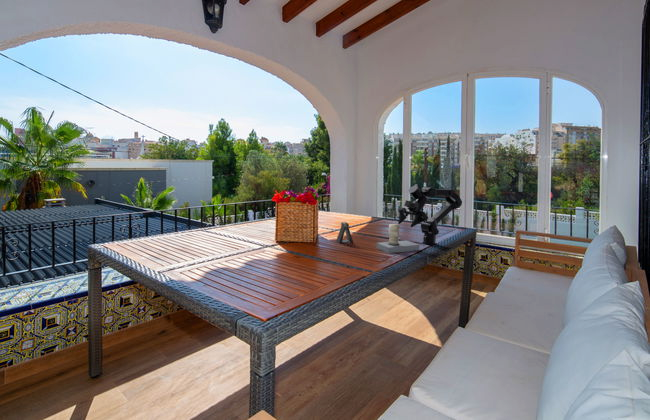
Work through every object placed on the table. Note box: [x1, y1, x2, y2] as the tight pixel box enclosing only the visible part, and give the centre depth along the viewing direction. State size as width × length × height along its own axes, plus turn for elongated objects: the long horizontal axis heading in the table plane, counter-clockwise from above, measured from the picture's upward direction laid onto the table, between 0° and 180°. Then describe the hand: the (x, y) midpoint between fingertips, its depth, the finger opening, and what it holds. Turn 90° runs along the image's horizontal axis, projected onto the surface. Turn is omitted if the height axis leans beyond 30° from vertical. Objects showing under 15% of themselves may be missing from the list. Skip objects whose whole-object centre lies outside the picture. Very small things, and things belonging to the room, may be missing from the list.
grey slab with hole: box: [376, 240, 420, 254], centre depth 197 cm, size 20×12×3 cm, turn 112°
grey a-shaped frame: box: [336, 221, 354, 244], centre depth 213 cm, size 9×6×12 cm, turn 104°
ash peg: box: [388, 223, 400, 246], centre depth 195 cm, size 6×6×14 cm
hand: (404, 225), depth 199 cm, fingers open, 9 cm apart
